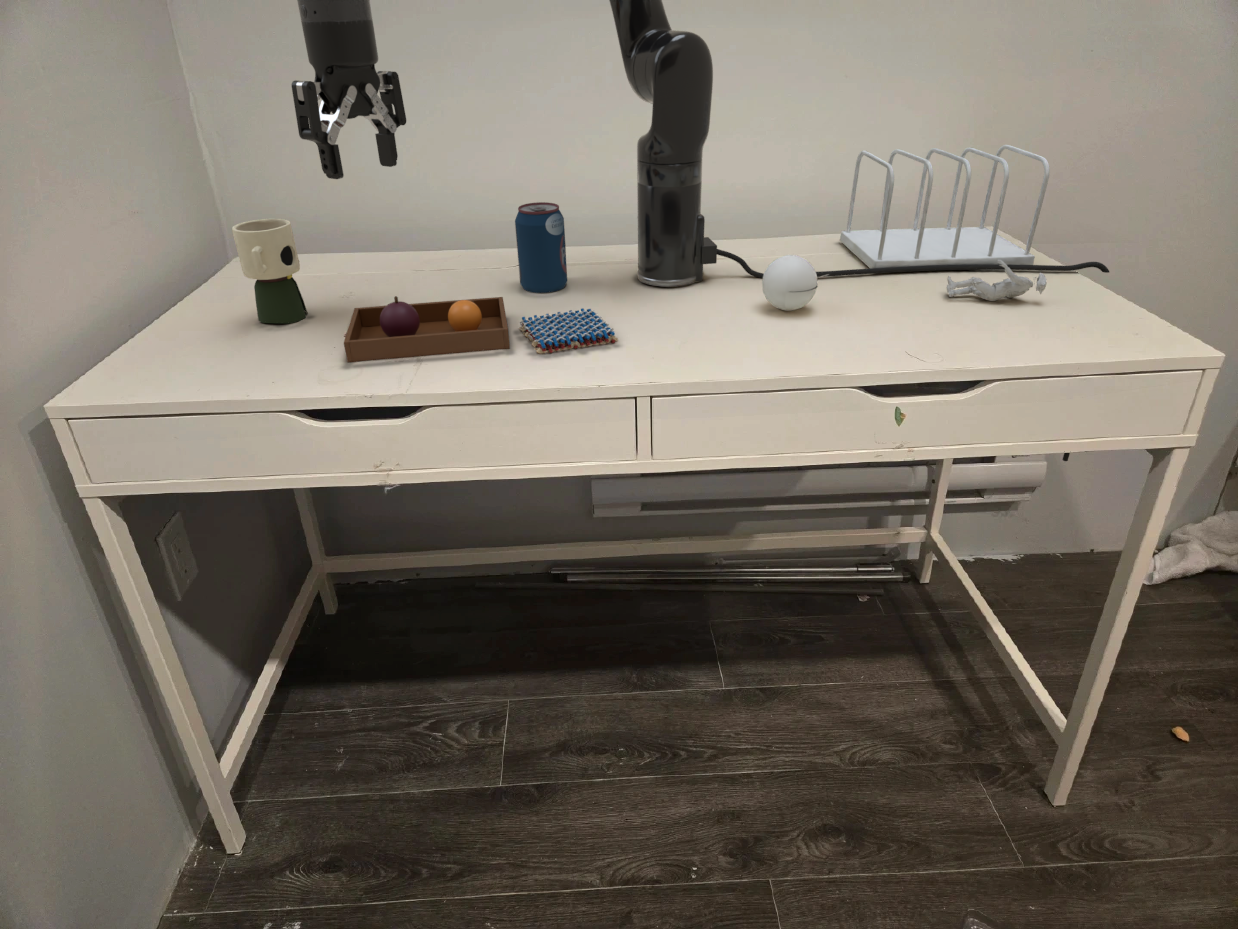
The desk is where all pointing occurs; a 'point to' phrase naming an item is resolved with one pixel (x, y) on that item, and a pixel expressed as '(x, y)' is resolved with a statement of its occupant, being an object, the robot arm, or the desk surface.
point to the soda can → (541, 247)
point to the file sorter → (940, 242)
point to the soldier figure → (996, 286)
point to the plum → (399, 319)
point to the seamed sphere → (789, 282)
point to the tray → (426, 332)
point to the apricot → (464, 316)
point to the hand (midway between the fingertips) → (363, 171)
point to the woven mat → (567, 331)
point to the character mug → (271, 268)
